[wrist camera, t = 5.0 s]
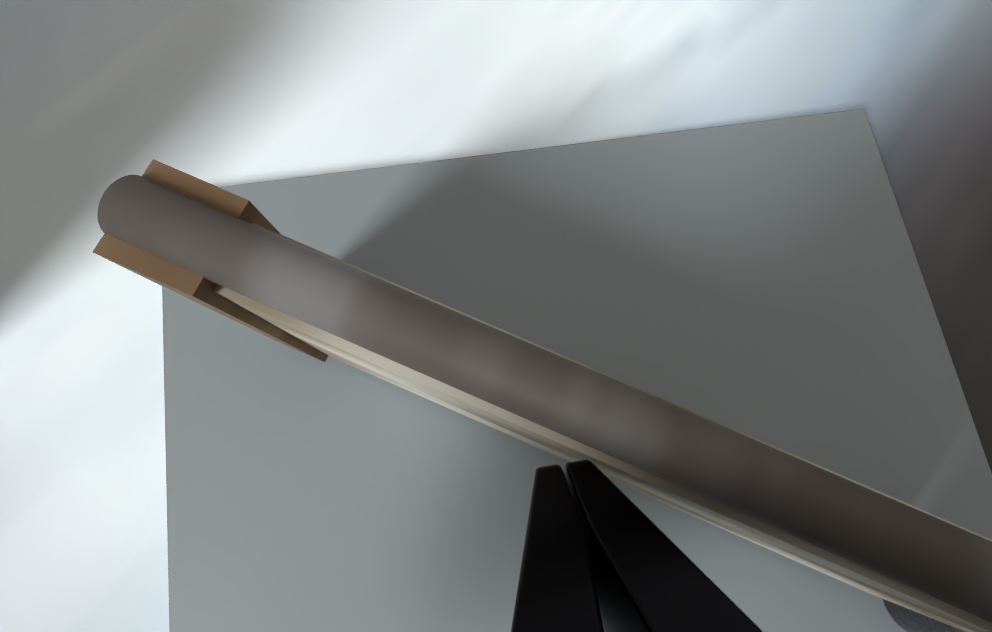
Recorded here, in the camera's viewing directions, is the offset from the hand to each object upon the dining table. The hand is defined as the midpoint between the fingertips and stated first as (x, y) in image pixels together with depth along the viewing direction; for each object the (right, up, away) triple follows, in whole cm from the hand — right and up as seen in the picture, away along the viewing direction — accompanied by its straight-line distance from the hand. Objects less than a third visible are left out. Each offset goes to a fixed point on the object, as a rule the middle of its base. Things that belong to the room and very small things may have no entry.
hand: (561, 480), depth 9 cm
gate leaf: (+1, -1, +5) cm, 5 cm away
